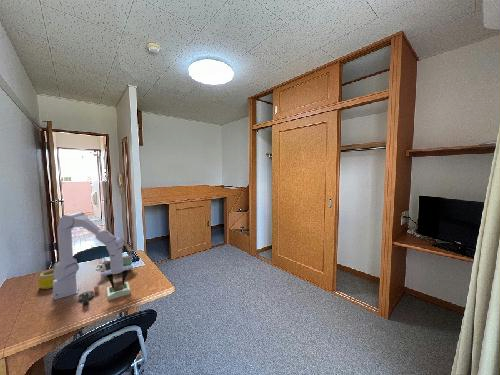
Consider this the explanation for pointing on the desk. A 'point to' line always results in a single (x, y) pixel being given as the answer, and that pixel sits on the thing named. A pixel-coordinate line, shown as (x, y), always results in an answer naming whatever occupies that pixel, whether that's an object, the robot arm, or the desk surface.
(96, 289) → the post
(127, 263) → the food container
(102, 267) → the giant panda
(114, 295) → the tray
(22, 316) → the desk surface
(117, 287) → the block
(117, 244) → the robot arm
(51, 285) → the mug
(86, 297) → the crank
